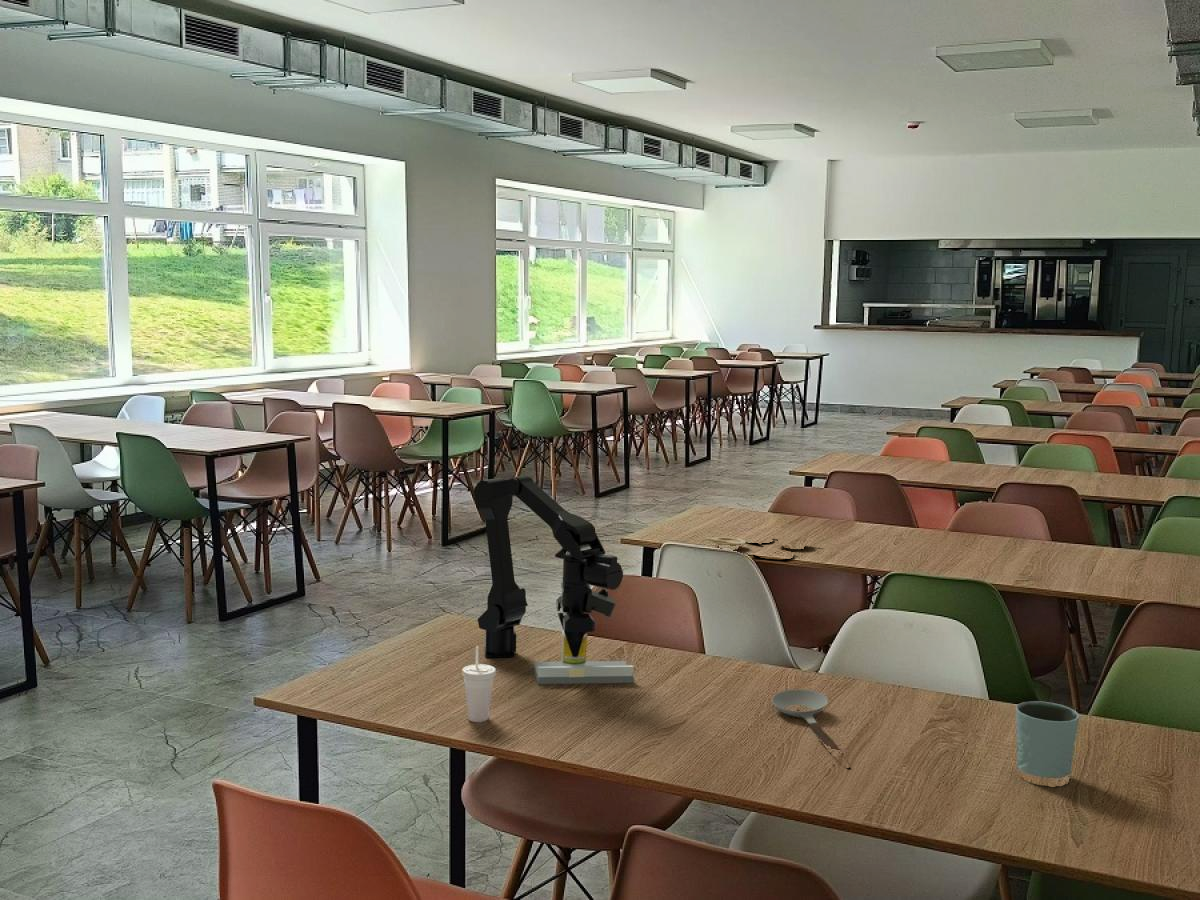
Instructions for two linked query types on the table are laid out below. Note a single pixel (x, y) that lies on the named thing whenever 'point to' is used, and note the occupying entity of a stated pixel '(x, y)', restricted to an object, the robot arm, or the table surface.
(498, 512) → the robot arm
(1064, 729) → the grey-green cup
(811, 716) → the grey frying pan
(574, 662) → the supplement bottle
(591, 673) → the grey panel
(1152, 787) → the table surface
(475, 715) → the smoothie
